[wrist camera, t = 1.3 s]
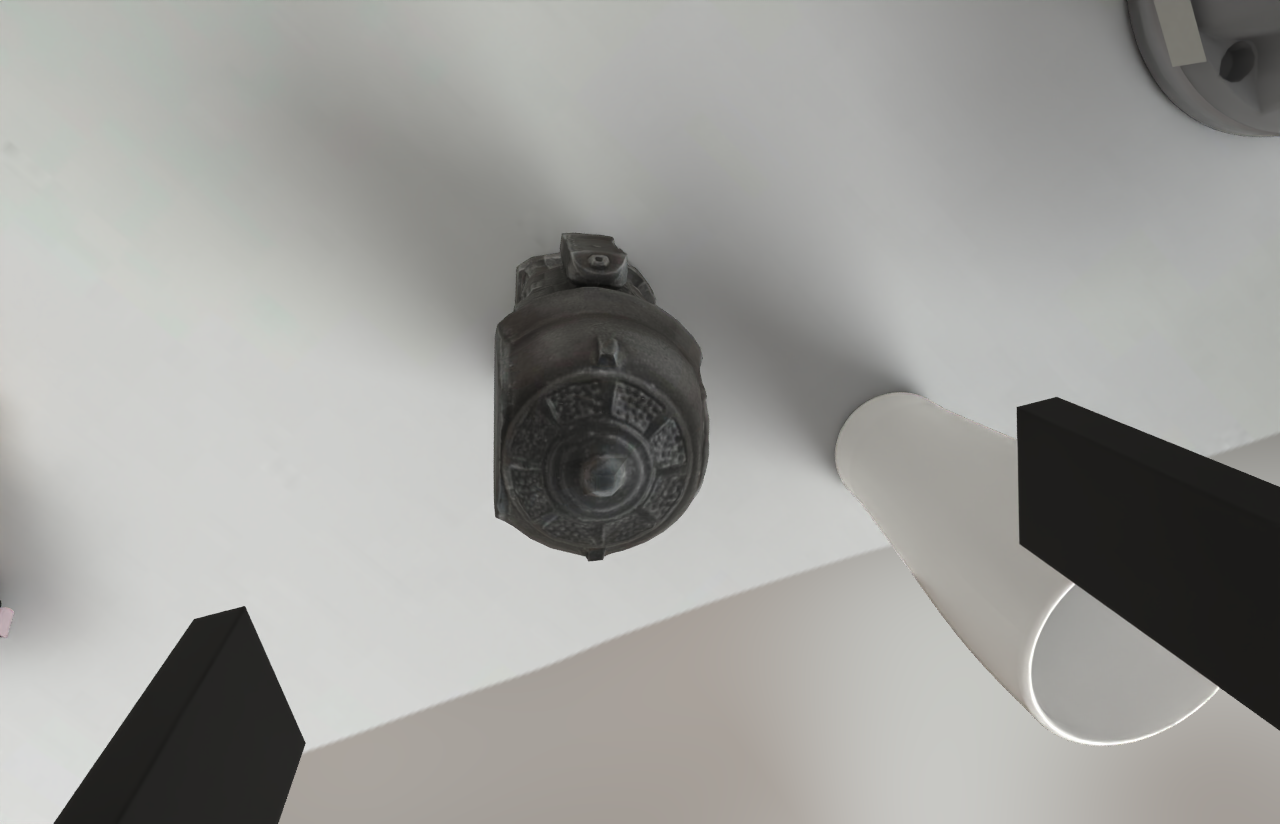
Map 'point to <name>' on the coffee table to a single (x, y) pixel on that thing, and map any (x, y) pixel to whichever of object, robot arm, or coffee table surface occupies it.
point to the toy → (594, 404)
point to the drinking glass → (1006, 576)
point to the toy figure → (5, 620)
